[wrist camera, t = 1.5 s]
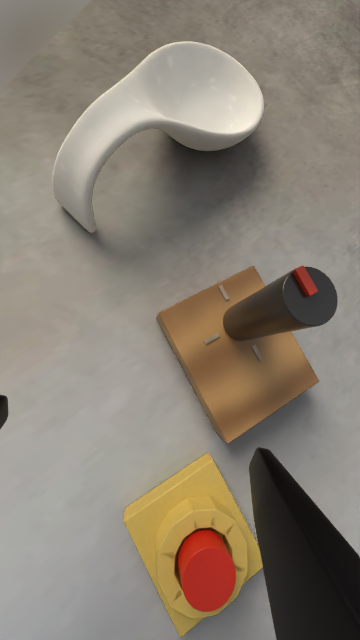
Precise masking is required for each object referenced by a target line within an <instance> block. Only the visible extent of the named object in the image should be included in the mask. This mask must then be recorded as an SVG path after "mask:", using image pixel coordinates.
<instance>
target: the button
mask: <svg viewBox="0 0 360 640" xmlns="http://www.w3.org/2000/svg"><path fill="white" fill-rule="evenodd" d="M178 569H179V574H180V579H181V584H182V589H183V593H184V596H185V598H186V600H187V601H188V603H189V604H190V605H191V606H192V607H193V608H195V609H197V610H199V611H202V612H210V611H214V610H217V609H218V608H220V607H221V606H223V605H224V604H225V603H226V602H227V601H228V599H229V598H230V596H231V594H232V592H233V590H234V587H235V582H236V570H235V565H234V562H233V560H232V558H231V556H230V553H229V551H228V549H227V547H226V545H225V543H224V541H223V539H222V538H221V537H220V536H219V535H218V534H217V533H215V532H213V531H211V530H199V531H196V532H194V533H192V534H191V535H190V536H189V537H188V538H187V539H186V540H185V541H184V543H183V544H182V546H181V549H180V552H179V556H178Z"/></svg>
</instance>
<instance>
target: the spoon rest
mask: <svg viewBox="0 0 360 640" xmlns="http://www.w3.org/2000/svg"><path fill="white" fill-rule="evenodd" d="M263 113H264V101H263V96H262V93H261V90H260V88H259V86H258V84H257V83H256V81H255V79H254V78H253V77H252V75H251V74H250V73H249V72H248V71H247V70H246V69H245V68H244V67H243V66H242V65H241V64H240V63H239V62H238V61H236V60H235V59H234V58H233V57H231V56H230V55H228V54H226V53H225V52H223V51H221V50H219V49H217V48H214V47H212V46H210V45H206V44H202V43H197V42H176V43H171V44H168V45H165V46H163V47H160V48H159V49H157V50H155V51H154V52H152V53H151V54H150V55H148V56H147V57H146V58H145V59H144V60H143V61H142V62H141V63H140V64H139V65H138V66H137V67H136V68H135V69H134V70H133V71H132V72H131V73H129V74H128V75H127V76H126V77H125V78H123V79H122V80H121V81H119V82H118V83H117V84H116V85H114V86H113V87H112V88H111V89H109V90H108V91H106V92H105V93H104V94H103V95H101V96H100V97H99V98H98V99H96V100H95V101H94V102H93V103H92V104H91V105H90V106H89V107H88V108H87V109H86V111H85V112H84V113H83V114H82V115H81V117H80V118H79V119H78V120H77V122H76V123H75V125H74V126H73V128H72V129H71V131H70V132H69V134H68V135H67V137H66V139H65V140H64V142H63V144H62V146H61V148H60V150H59V152H58V155H57V158H56V161H55V164H54V168H53V174H52V187H53V192H54V195H55V198H56V199H57V201H58V202H59V203H60V204H61V205H62V206H63V207H64V208H65V209H66V210H67V211H68V212H69V213H70V214H71V215H72V216H73V217H74V218H75V219H76V220H77V221H78V222H79V223H80V224H81V225H82V226H83V227H84V228H85V229H86V230H88V231H89V232H91V233H93V232H94V231H95V229H96V224H95V219H94V215H93V209H92V193H93V188H94V184H95V181H96V178H97V176H98V174H99V172H100V170H101V168H102V167H103V165H104V164H105V162H106V161H107V160H108V158H109V157H110V156H111V155H112V154H113V153H114V151H115V150H116V149H117V148H118V147H119V146H120V145H121V144H122V143H123V142H125V141H126V140H127V139H128V138H130V137H131V136H133V135H134V134H136V133H138V132H140V131H143V130H146V129H150V128H155V129H160V130H162V131H163V132H165V133H166V134H168V135H169V136H171V137H172V138H173V139H175V140H176V141H177V142H179V143H181V144H182V145H184V146H186V147H189V148H192V149H195V150H200V151H215V150H221V149H225V148H228V147H231V146H233V145H235V144H238V143H239V142H241V141H242V140H244V139H245V138H246V137H248V136H249V135H250V134H251V133H252V132H253V131H254V130H255V129H256V128H257V127H258V125H259V123H260V122H261V119H262V116H263Z"/></svg>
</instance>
